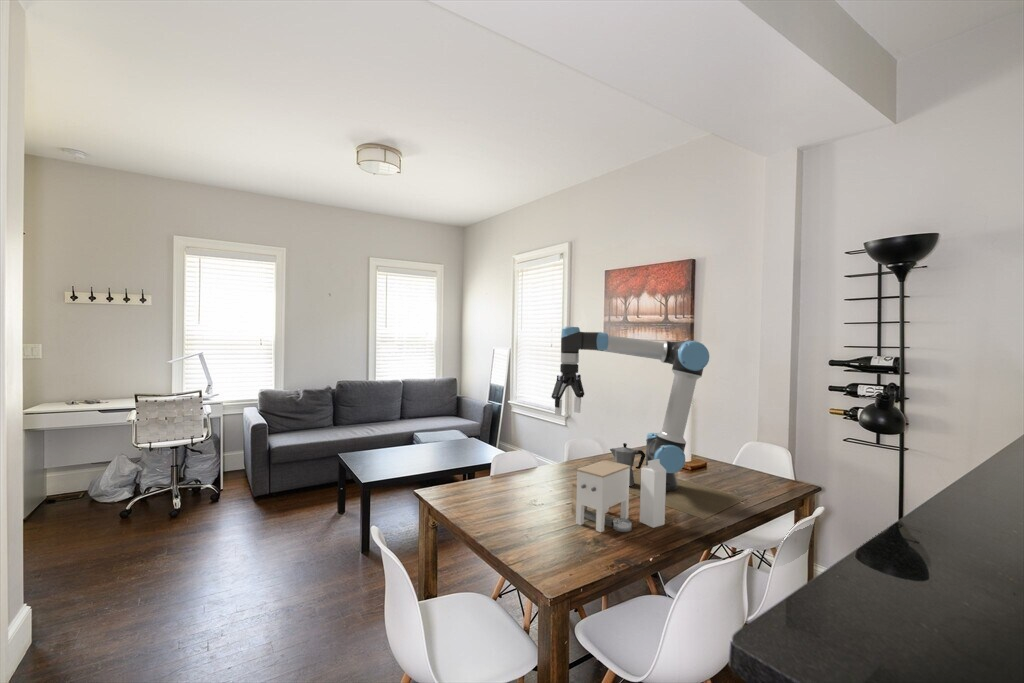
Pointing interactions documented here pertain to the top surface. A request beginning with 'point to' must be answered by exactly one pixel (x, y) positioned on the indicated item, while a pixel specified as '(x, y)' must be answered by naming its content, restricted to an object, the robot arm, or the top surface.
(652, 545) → the top surface
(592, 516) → the beige and grey pieces
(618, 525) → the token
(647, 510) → the milk
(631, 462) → the coffeepot
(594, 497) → the cabinet
